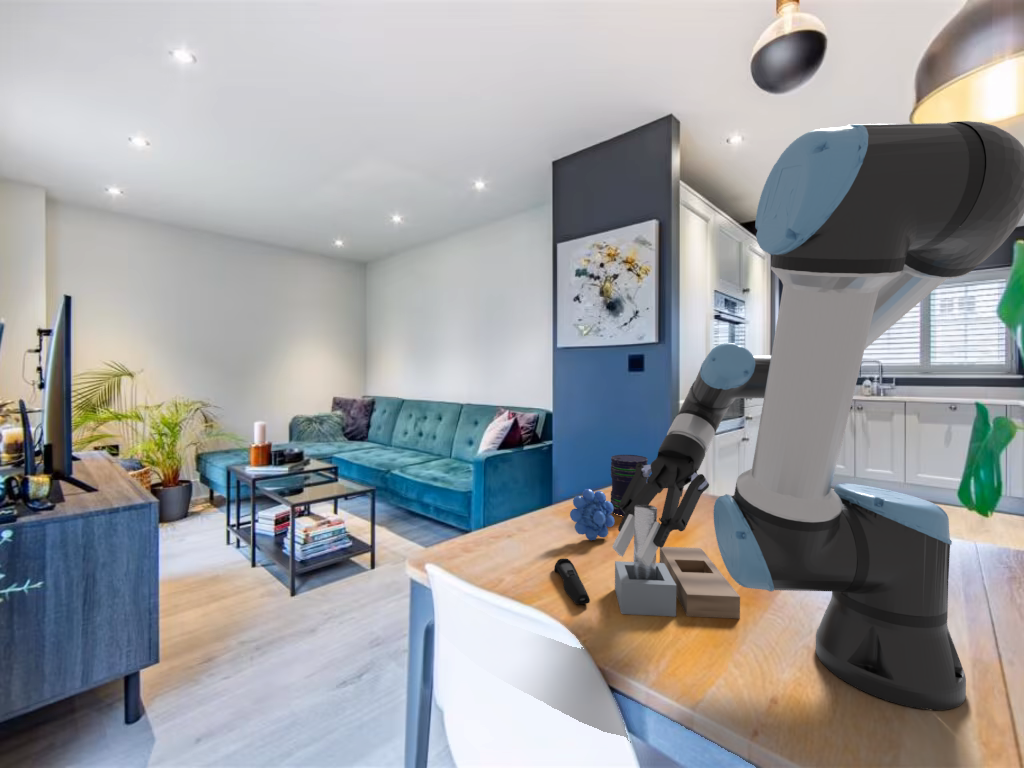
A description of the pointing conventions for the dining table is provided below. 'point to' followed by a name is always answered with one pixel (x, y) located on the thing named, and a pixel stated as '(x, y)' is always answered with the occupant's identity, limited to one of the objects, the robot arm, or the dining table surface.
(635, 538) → the axle
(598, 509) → the blue lobed rosette
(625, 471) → the dark blue ridged cylinder
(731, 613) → the beam
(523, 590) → the dining table surface
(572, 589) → the electric trimmer
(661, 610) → the block
